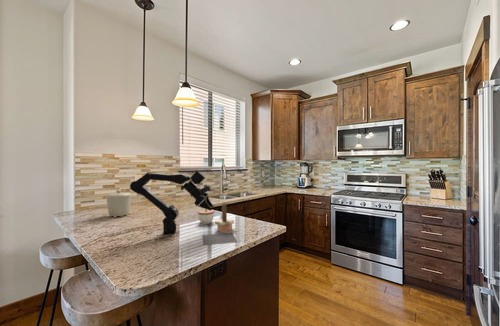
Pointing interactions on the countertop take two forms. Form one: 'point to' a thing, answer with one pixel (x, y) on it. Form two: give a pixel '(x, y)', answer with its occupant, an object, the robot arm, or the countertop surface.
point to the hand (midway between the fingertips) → (211, 208)
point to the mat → (218, 239)
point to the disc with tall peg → (224, 217)
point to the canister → (118, 203)
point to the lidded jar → (205, 216)
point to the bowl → (224, 228)
